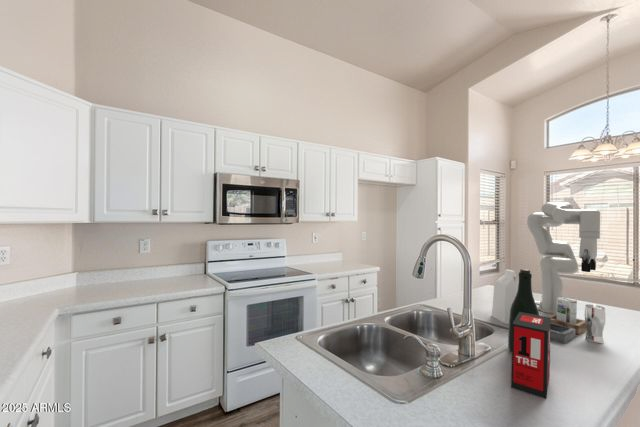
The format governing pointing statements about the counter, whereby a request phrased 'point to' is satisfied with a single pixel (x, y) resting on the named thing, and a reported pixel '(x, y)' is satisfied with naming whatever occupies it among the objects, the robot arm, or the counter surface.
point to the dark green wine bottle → (522, 301)
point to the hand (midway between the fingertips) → (588, 270)
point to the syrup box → (566, 310)
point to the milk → (504, 295)
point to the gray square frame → (561, 333)
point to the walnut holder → (579, 326)
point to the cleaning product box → (531, 354)
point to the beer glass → (595, 322)
